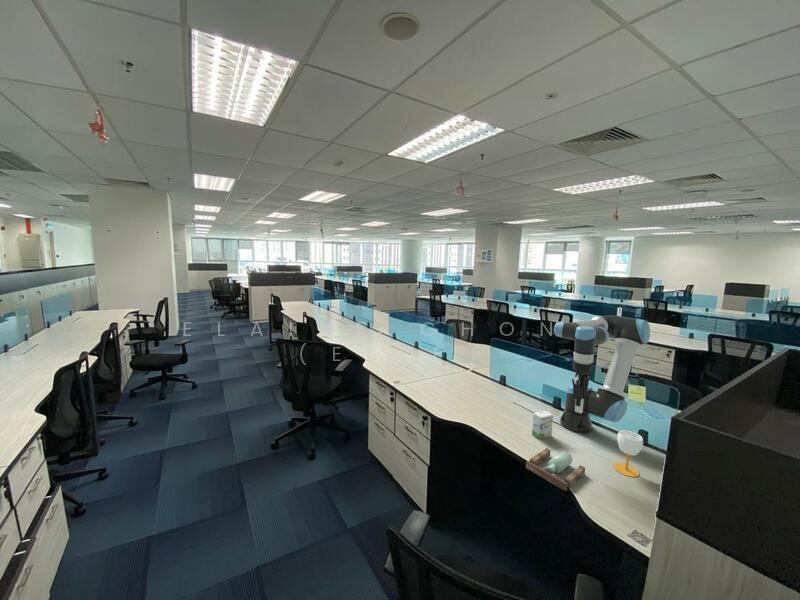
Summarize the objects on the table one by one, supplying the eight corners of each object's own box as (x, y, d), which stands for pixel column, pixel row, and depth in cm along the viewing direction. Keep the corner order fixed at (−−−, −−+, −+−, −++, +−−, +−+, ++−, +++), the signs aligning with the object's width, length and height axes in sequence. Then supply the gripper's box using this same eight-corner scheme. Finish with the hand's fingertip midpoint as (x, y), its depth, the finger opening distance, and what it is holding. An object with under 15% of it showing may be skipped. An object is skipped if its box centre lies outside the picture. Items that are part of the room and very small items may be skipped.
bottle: (560, 448, 143) (542, 461, 134) (573, 455, 139) (555, 469, 130) (558, 459, 144) (540, 473, 135) (571, 466, 140) (553, 481, 131)
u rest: (545, 454, 149) (546, 448, 148) (584, 474, 135) (585, 467, 135) (525, 468, 139) (526, 461, 138) (565, 491, 125) (566, 484, 125)
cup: (640, 469, 139) (645, 435, 136) (637, 480, 132) (642, 444, 130) (615, 460, 145) (619, 427, 142) (611, 470, 138) (616, 435, 136)
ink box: (538, 439, 160) (540, 417, 159) (531, 434, 165) (533, 412, 163) (551, 436, 163) (553, 414, 162) (544, 431, 168) (546, 410, 166)
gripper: (580, 356, 147) (576, 404, 151) (567, 362, 140) (563, 413, 143) (598, 360, 142) (593, 410, 145) (585, 367, 134) (580, 420, 137)
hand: (578, 411), depth 144 cm, fingers closed
